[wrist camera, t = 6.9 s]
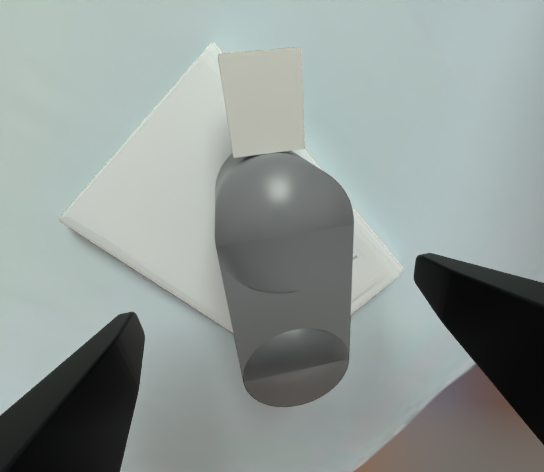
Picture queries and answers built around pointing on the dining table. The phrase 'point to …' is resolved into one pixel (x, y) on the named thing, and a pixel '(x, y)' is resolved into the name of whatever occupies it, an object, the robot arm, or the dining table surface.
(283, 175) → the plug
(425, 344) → the dining table surface
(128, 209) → the external hard drive
